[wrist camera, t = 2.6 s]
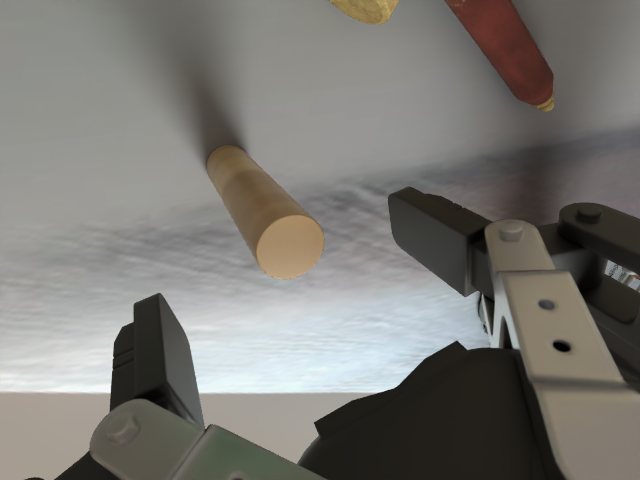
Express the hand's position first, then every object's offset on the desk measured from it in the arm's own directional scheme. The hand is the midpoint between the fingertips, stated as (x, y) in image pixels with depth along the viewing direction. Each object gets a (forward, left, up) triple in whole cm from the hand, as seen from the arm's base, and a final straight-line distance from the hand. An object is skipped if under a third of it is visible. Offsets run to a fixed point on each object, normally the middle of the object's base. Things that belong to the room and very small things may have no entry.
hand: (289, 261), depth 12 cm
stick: (0, 0, -11) cm, 11 cm away
